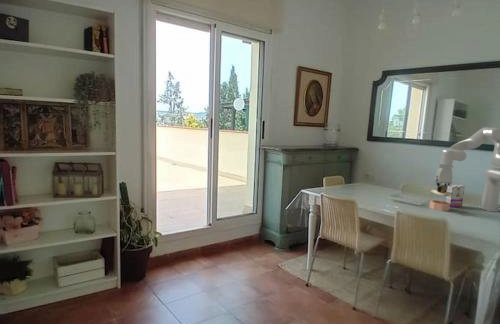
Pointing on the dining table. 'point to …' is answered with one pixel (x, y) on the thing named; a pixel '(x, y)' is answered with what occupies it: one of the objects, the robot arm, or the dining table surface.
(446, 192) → the lid
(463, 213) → the mat
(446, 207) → the bowl
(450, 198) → the candy bar box
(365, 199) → the dining table surface
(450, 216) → the dining table surface
